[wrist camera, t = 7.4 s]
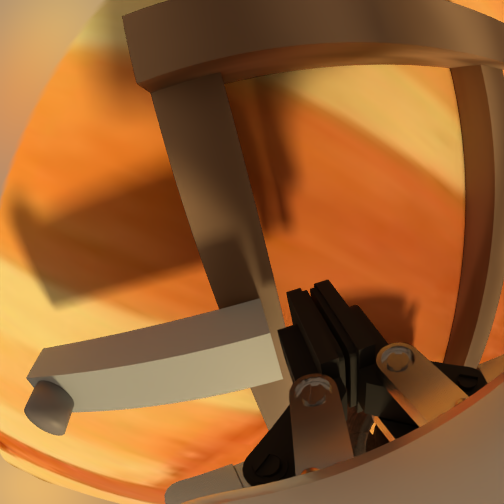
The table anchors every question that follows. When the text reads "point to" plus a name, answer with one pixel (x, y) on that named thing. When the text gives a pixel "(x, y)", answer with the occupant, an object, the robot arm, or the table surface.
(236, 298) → the frame
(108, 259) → the table surface
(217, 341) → the gray rectangular bar
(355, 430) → the pottery mug
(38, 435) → the table surface
